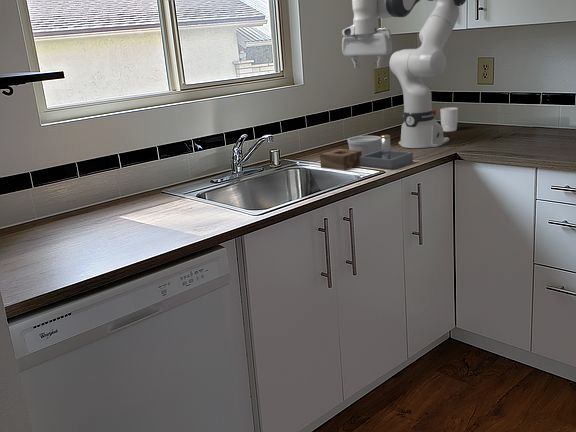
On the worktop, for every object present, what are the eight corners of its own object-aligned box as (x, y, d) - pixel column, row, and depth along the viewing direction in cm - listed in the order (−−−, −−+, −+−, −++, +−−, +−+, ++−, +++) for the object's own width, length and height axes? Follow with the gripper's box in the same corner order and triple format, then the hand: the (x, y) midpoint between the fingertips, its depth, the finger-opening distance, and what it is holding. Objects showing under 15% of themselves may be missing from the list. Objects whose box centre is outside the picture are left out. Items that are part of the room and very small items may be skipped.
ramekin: (370, 150, 261) (369, 134, 259) (388, 155, 249) (387, 137, 247) (342, 155, 255) (341, 138, 253) (359, 160, 244) (358, 142, 242)
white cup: (438, 132, 290) (438, 110, 287) (442, 129, 297) (441, 107, 294) (456, 131, 287) (456, 109, 284) (459, 128, 294) (459, 107, 291)
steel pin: (385, 161, 236) (384, 134, 233) (392, 161, 234) (391, 135, 231) (379, 162, 234) (378, 136, 231) (387, 163, 231) (386, 136, 229)
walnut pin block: (339, 161, 245) (338, 148, 243) (362, 163, 237) (361, 150, 236) (320, 167, 237) (319, 154, 236) (343, 170, 230) (343, 156, 228)
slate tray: (381, 158, 243) (381, 149, 242) (412, 161, 234) (412, 152, 233) (359, 166, 234) (359, 156, 233) (391, 169, 224) (391, 160, 223)
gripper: (395, 26, 224) (396, 66, 228) (348, 30, 238) (350, 67, 242) (384, 27, 220) (386, 68, 224) (338, 31, 234) (340, 69, 238)
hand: (367, 68), depth 233 cm, fingers open, 8 cm apart
